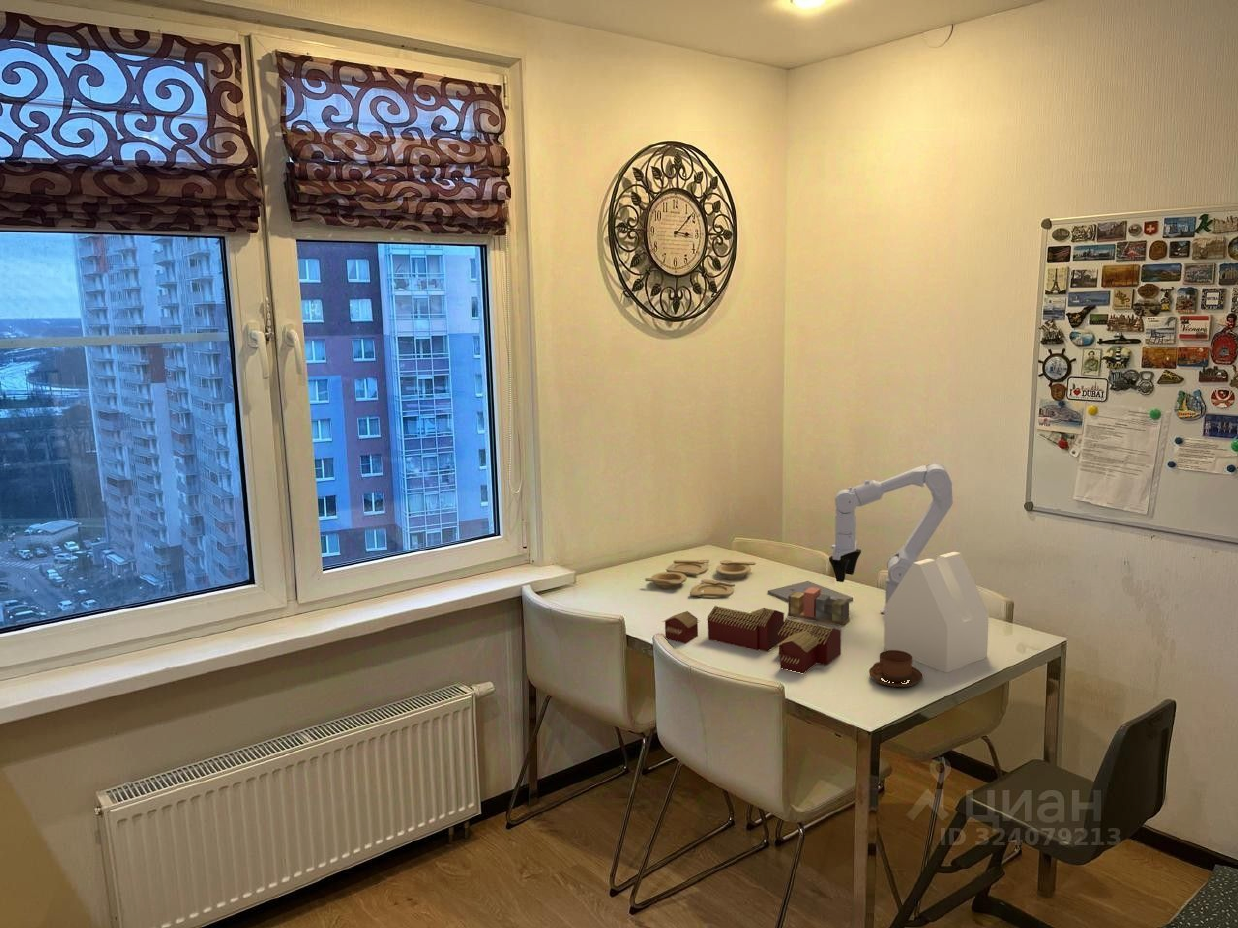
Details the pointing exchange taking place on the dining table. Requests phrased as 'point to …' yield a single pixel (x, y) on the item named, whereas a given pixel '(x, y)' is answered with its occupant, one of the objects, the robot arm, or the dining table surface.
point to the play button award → (802, 587)
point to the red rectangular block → (811, 601)
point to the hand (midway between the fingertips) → (844, 577)
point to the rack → (820, 609)
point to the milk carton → (938, 615)
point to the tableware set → (710, 587)
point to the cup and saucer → (895, 669)
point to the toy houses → (763, 635)
